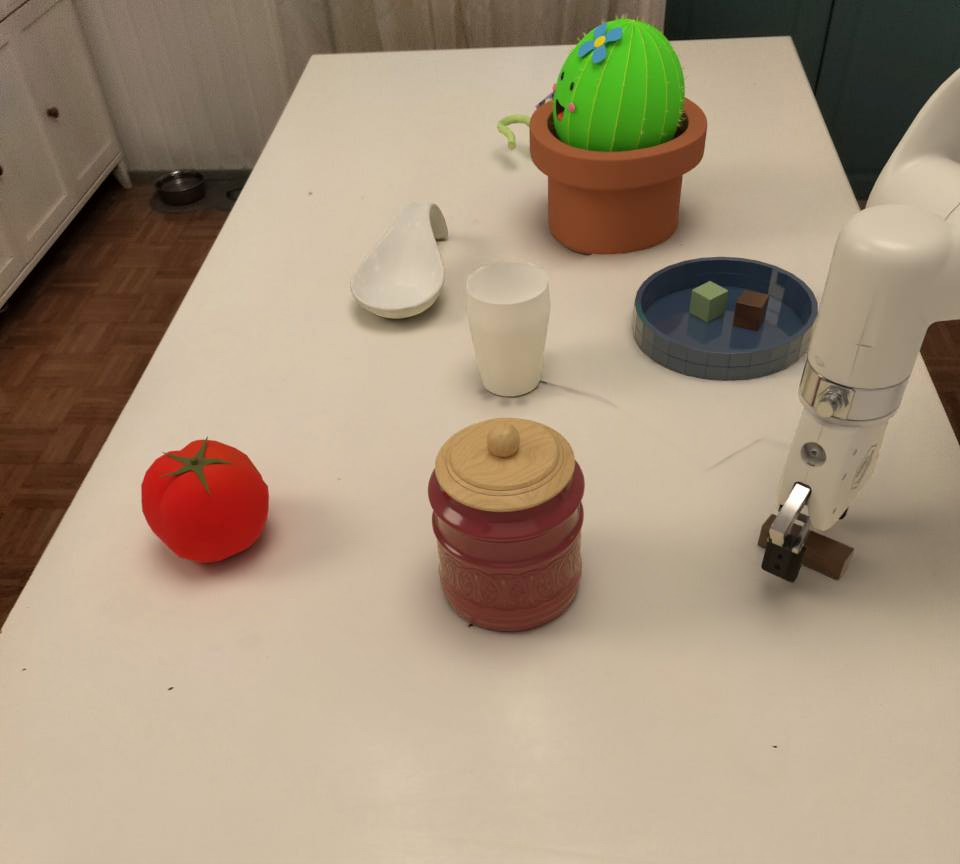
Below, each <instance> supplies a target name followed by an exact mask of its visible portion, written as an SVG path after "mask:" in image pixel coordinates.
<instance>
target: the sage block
mask: <svg viewBox="0 0 960 864" xmlns="http://www.w3.org/2000/svg"><path fill="white" fill-rule="evenodd" d="M727 296H728V290H726V289H724V288H723V287H721V286H719V285H717V284H715V283H713V282H711V281H709V282H707V283H705V284H703V285H701V286H699V287H697V288H695V289H693V290H692V294H691V302H690V310H689V313H691V314H693V315H694V316H696V317H698V318H700V319H701V320H703V321H705V322H709V321H711V320H713V319H715V318H717V317H719V316H721V315H723V314H724V313H725V308H726V302H727Z"/></svg>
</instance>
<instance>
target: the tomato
mask: <svg viewBox="0 0 960 864" xmlns="http://www.w3.org/2000/svg"><path fill="white" fill-rule="evenodd" d="M208 438H209V436H208V435H207V436H206V438H205V439H196V440H192V441H190V442H189V443H187V444H186V445H185V446H184V447H183V448H181V449H180V450H179V449H178V450H171V451H170V450H169V451H167V452H164V451H162V455H161V456H159V457H157V458H156V459H154V461H153V462H152V463H151V464H150V466H149V467H148V468H147V469H146V470H145V473H144V476H143V479H142V481H141V484H140V485H141V486H140V491H141V496H140V497H141V511H142V513H143V517H144V519H145V521H146V524H147V525H148V526H149V528H150V530H151V531H152V533H153V534H154V535H155V536H156V537H157V538H158V539H159V540H160V541H161V542H162V543H163V544H164V545H165V546H167V548H168V549H169V550H171V552H173V553H174V554H175V555H176V556H177V557H178V558H181V559H185V560H188V561H192V562H196V563H200V564H206V563H216V562H221V561H223V560H226V559H227V558H230V557H232V556H235V555H236V554H239V553H241V552H243V551H246V550H248V549H249V548H250V547H251V546H252V545H253V544H254V543H255V542H256V541H257V540H258V539H259V537H260V536H261V534H262V533H263V530H264V527H265V525H266V523H267V520H268V514H269V508H270V507H269V506H270V492H269V485H268V484H267V483H266V482H265V480H264V479H263V475H262V474H261V473H260V471H259V470H258V468H257V467H256V465H255V464H254V463H253V461H252V460H251V458H250V457H249V456H248V454H246V453H244V452H243V451H241V450H239V449H238V448H236V447H234V446H232V445H229V444H226V443H223V442H221V441H218V440H213V439H208Z"/></svg>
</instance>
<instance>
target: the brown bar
mask: <svg viewBox="0 0 960 864" xmlns="http://www.w3.org/2000/svg"><path fill="white" fill-rule="evenodd" d="M777 515H778V514H777ZM777 515H776V514H774V513H771V514H770V515H769V516H768V518H767V519H766V520H765V521H764V523H763V524H762V525H761V528H760V532H759V536H758V540H757V545H758V546H759V547H762V548H764V549H766V546H767V542H768V541H767V539H768V534H769V530H770V527H771V525H772V523H773V522H774V520H775V518H776V517H777ZM802 527H803V525H800V524H798V523H796V522H794V524H793V526H792V528H791V533H790V535H793V536H795V537H796V538H797V537H798V535H799V533H800V531H801V529H802ZM803 546H804V547H805V548H807V549H806V552H805V555H804V559H803V562H802V565H801V566H805V567H807V568H809V569H812V570H814V571H815V572H818V573H820V574H822V575H825V576H827V577H830V578H831V579H834V580H836V581H839V580H840V579H841V577H842V576H843V575H844V574H845V572H846V571H847V570H848V568H849V565H850V562H851V560H852V557H853V554H854V551H855V548H854V547H852V546H849V545H847V544H845V543H843V542H840V541H838V540H835V539H833V538H831V537H828V536H827V535H823V534H821V533H819V532H816V531H814V530H813V529H812V530H811V532H810V533H809V535H808V537H807V539H806V541H805V543H804V545H803Z"/></svg>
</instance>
